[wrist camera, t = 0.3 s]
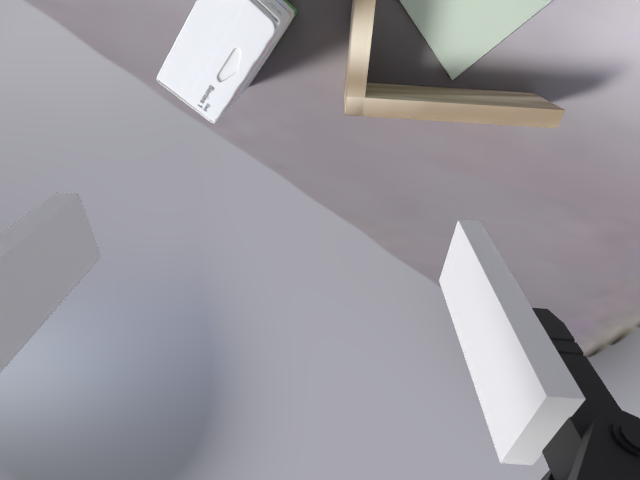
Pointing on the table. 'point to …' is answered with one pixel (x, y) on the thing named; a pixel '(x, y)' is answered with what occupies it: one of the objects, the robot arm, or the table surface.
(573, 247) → the table surface
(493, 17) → the pad
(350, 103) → the corner arena
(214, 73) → the ink box
